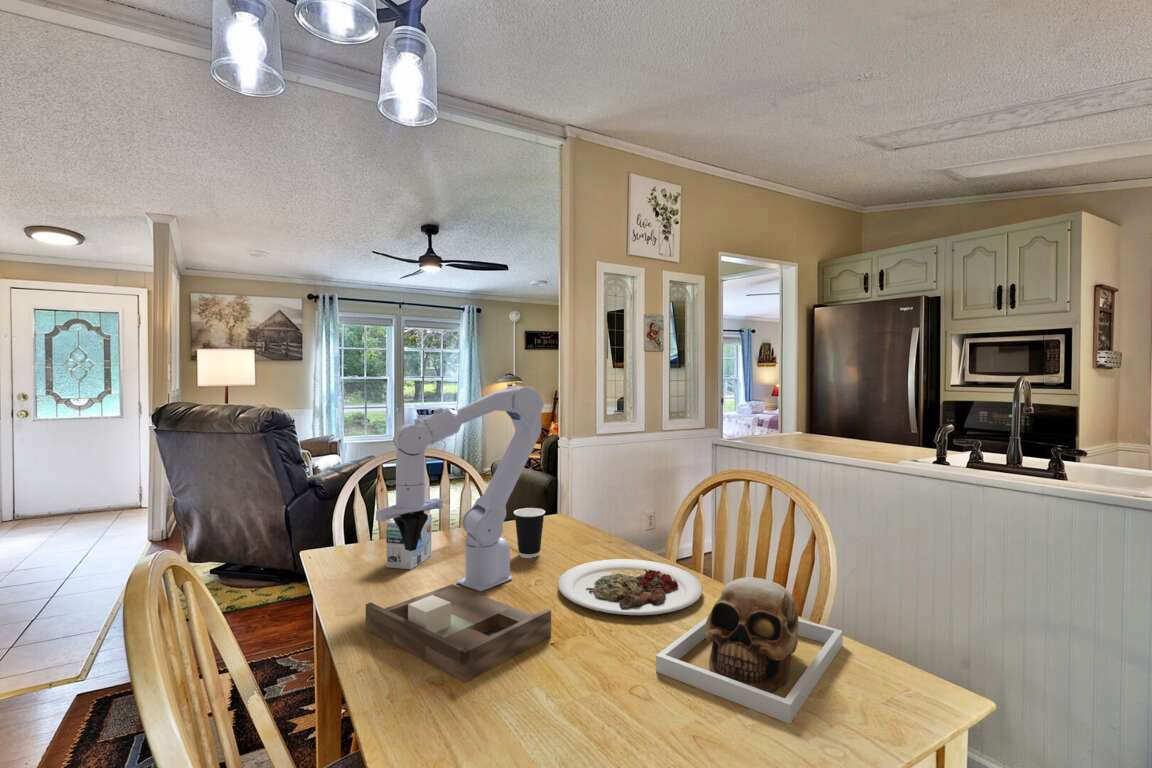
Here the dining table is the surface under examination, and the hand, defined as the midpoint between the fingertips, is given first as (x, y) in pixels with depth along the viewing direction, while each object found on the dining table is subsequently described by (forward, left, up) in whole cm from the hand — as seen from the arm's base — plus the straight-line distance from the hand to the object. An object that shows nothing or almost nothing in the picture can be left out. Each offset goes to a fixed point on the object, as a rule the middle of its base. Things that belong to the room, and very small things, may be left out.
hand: (410, 549), depth 112 cm
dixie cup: (-34, +1, -10) cm, 35 cm away
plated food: (-31, +33, -10) cm, 46 cm away
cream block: (+10, +20, -7) cm, 23 cm away
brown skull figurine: (-18, +65, -10) cm, 68 cm away
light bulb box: (-12, -18, -10) cm, 24 cm away
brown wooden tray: (+5, +21, -9) cm, 23 cm away
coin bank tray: (-20, +64, -9) cm, 68 cm away
